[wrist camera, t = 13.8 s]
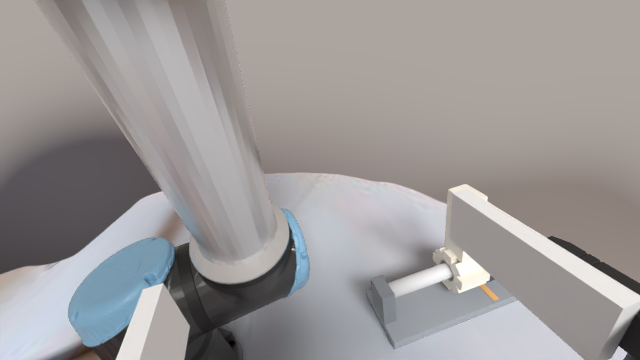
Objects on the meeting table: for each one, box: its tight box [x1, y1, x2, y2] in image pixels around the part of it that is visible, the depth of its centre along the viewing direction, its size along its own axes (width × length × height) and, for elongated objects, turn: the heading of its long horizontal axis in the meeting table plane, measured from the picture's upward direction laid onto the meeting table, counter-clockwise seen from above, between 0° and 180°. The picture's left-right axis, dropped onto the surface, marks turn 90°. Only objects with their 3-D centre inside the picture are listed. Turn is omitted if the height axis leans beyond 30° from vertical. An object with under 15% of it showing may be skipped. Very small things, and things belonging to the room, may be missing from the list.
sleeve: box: [433, 184, 490, 293], centre depth 43 cm, size 5×7×18 cm
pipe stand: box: [366, 262, 518, 349], centre depth 46 cm, size 26×10×8 cm, turn 105°
